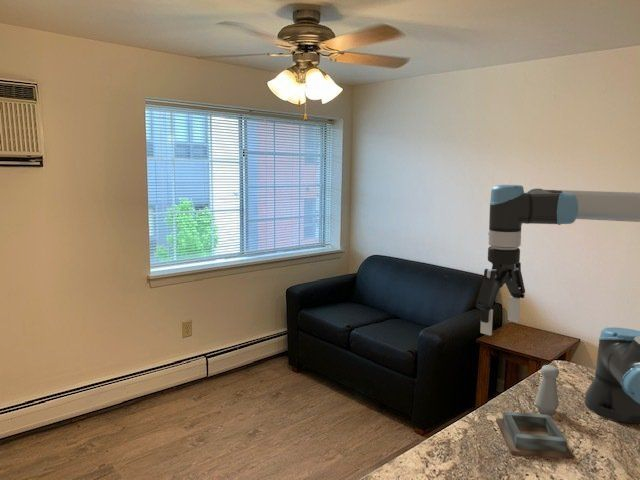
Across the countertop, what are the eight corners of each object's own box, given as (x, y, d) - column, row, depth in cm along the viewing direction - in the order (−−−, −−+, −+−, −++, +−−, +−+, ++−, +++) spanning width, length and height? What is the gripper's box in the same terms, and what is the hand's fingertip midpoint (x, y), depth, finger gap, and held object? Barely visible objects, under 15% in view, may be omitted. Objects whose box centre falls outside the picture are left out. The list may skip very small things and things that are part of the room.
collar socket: (551, 425, 122) (552, 412, 122) (573, 459, 108) (575, 445, 108) (495, 420, 124) (497, 408, 123) (510, 453, 110) (512, 440, 109)
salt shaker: (560, 418, 125) (565, 373, 123) (537, 415, 127) (541, 370, 124) (553, 406, 131) (558, 363, 129) (532, 404, 132) (536, 361, 130)
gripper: (514, 238, 128) (510, 312, 132) (462, 251, 112) (459, 335, 116) (541, 242, 122) (537, 319, 126) (491, 256, 106) (487, 344, 110)
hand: (500, 327), depth 121 cm, fingers open, 13 cm apart
